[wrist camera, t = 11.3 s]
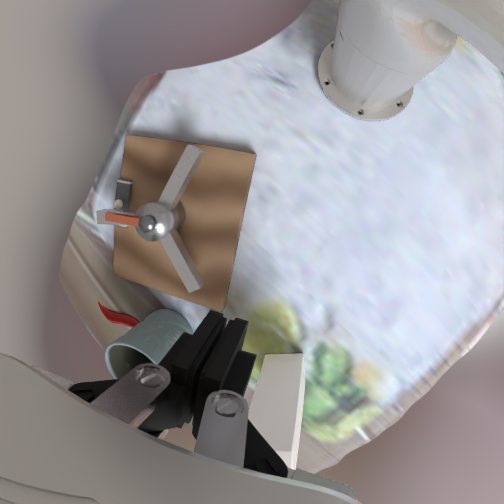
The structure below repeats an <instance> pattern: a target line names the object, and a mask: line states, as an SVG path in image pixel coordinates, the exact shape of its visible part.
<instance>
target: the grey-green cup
mask: <svg viewBox="0 0 504 504" xmlns="http://www.w3.org/2000/svg"><path fill="white" fill-rule="evenodd" d="M184 332H187V333H189V334H192V335H193V331H192V329H191V326H190V325H189V323H188V322H187V320H186V319H185V318H184V317H183V316H182V315H180V314H179V313H177V312H175V311H173V310H170V309H159V310H156V311H154V312H152V313H151V314H150V315H148V316H147V317H146V318H145V319H144V321H142V322H140V323H138V324H137V325H136V326H134V327H133V328H132V329H131V330H129V331H128V332H127V333H126V334H125V335H123V336H121V337H120V338H118V339H117V340H115V341H114V342H113V343H111V344H110V345H109V346H108V347H107V349H106V352H105V360H106V364H107V367H108V369H109V371H110V373H111V374H112V376H113V377H114V378H115V379H121V378H122V377H124V376H125V375H126V374H127V373H128V372H130V371H131V370H132V369H133V368H135V367H136V366H138V365H140V364H144V363H153V364H159V363H160V361H161V360H162V359H163V358H164V356H165V355H166V354H167V352H168V351H169V350H170V349H171V347H172V346H173V345H174V344H175V342H176V341H177V340H178V338H179V337H180V336H181V335H182V334H183V333H184Z"/></svg>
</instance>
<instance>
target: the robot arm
mask: <svg viewBox="0 0 504 504" xmlns="http://www.w3.org/2000/svg"><path fill="white" fill-rule="evenodd" d="M457 35H458V36H459V37H460V38H462V39H463V40H465V41H467V42H468V43H470V44H471V45H472V46H473V47H475V48H476V49H477V50H478V51H479V52H481V53H482V54H483V55H484V56H485V57H486V58H487V59H489V60H490V61H491V62H492V63H493V64H494V65H495V66H496V67H497V68H498V69H499V70H500V71H502V72H503V73H504V0H340V4H339V11H338V18H337V26H336V33H335V39H334V40H332V41H331V42H330V43H329V44H328V45H327V46H326V47H325V48H324V50H323V51H322V53H321V55H320V58H319V62H318V77H319V81H320V84H321V87H322V89H323V91H324V93H325V94H326V96H327V97H328V99H329V100H330V101H331V102H332V103H333V104H334V105H335V106H336V107H337V108H339V109H340V110H341V111H343V112H344V113H346V114H348V115H350V116H352V117H355V118H357V119H360V120H366V121H382V120H387V119H389V118H392V117H394V116H396V115H397V114H399V113H400V112H401V111H403V110H404V109H405V108H406V106H407V105H408V103H409V102H410V100H411V97H412V94H413V88H414V85H415V84H416V83H418V82H419V81H420V80H422V79H423V78H424V77H425V76H427V75H428V74H429V73H430V72H432V71H433V70H434V69H435V68H437V67H438V66H439V65H440V64H442V63H443V62H444V61H445V60H446V59H447V58H448V57H449V55H450V54H451V52H452V50H453V48H454V46H455V42H456V37H457ZM332 47H333V48H332ZM326 82H327V83H329V85H325V83H326ZM397 104H399V105H400V107H398V106H397ZM359 111H360V112H361V113H362V114H361V115H359V114H358V112H359ZM226 322H227V318H224V317H223V314H222V313H219V312H216V311H213V310H210V311H209V313H208V314H207V316H206V317H205V318H204V320H203V321H202V322H201V324H200V325H199V327H198V328H197V329H196V331H195V332H194V334H193V335H192V334H189V333H187V332H184V333H183V334H182V335H181V336H180V337H179V338H178V340H177V341H176V342H175V344H174V345H173V346H172V347H171V349H170V350H169V351H168V352H167V354H166V355H165V356H164V358H163V359H162V360H161V361H160V363H159V364H153V363H144V364H140V365H138V366H136V367H135V368H133V369H132V370H131V371H130V372H128V373H127V374H126V375H125V376H124V377H122V378H121V379H114V380H105V381H95V382H84V383H78V384H75V385H74V384H73V383H72V381H70V380H68V379H65V378H62V377H60V376H57V375H55V374H52V373H50V372H47V371H45V370H43V369H40V368H38V367H35V366H30V365H28V364H26V363H25V362H23V361H21V360H19V359H17V358H15V357H12V356H9V355H6V354H2V353H0V504H362V503H360V502H358V501H357V500H356V495H355V492H354V490H353V489H352V488H350V486H347V485H345V484H343V483H339V482H336V481H332V480H330V479H327V478H323V477H320V476H318V475H315V474H312V473H309V472H306V471H303V470H301V469H298V468H297V469H296V470H294V469H291V468H288V467H287V465H286V464H285V462H284V461H283V460H282V459H281V457H280V456H279V455H278V454H277V453H276V452H275V451H274V449H273V448H272V447H271V446H270V445H269V444H268V442H267V441H266V440H265V439H264V438H263V436H262V435H261V434H260V433H259V431H258V430H257V429H256V428H255V427H254V425H253V424H252V423H251V422H250V420H249V419H248V411H249V407H248V403H247V401H246V399H245V398H244V394H245V391H246V388H247V385H248V382H249V379H250V376H251V372H252V369H253V366H254V362H255V359H256V354H252V353H249V352H245V351H242V346H243V342H244V338H245V334H246V330H247V326H248V321H246V320H242V319H239V318H235V320H231V319H230V321H229V322H228V324H227V326H226ZM225 327H226V328H225ZM192 417H193V423H192V425H193V430H192V434H193V436H194V437H195V439H196V444H195V448H194V452H192V451H189V450H186V449H184V448H181V447H179V446H176V445H173V444H171V443H169V442H166V441H164V440H162V439H163V438H164V437H165V436H166V434H167V432H168V429H170V428H175V427H178V428H182V426H183V424H184V422H185V423H188V424H189V423H190V421H191V419H192Z"/></svg>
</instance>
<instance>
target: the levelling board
mask: <svg viewBox="0 0 504 504" xmlns="http://www.w3.org/2000/svg"><path fill="white" fill-rule="evenodd" d="M187 145H194V146H196V147H197V148H199V149H201V150H202V151H204V152H206V153H205V155H204V157H203V158H202V160H201V162H200V164H199V165H198V167H197V169H196V171H195V172H194V174H193V176H192V178H191V180H190V181H189V183H188V185H187V187H186V189H185V191H184V193H183V194H182V196H181V198H180V200H179V202H180V203H181V204H182V206H183V207H184V210H185V214H186V218H185V223H184V225H183V226H182V227H181V228H180V229H179V230H177V232H178V234H179V236H180V238H181V240H182V242H183V244H184V245H185V247H186V249H187V251H188V253H189V255H190V256H191V258H192V260H193V262H194V264H195V266H196V267H197V269H198V271H199V273H200V275H201V276H202V278H203V280H204V282H205V284H204V285H203V286H202V287H201V288H200V289H198V290H195V291H193V292H191V293H189V292H188V290H187V289H186V287H185V285H184V283H183V282H182V280H181V278H180V276H179V275H178V273H177V271H176V269H175V267H174V266H173V264H172V262H171V260H170V258H169V256H168V255H167V253H166V251H165V249H164V247H163V245H162V244H161V242H160V240H157V241H154V242H150V241H146V240H144V239H143V238H141V237H140V236H139V234H138V233H137V231H136V229H135V226H128V227H127V228H123V227H119V226H116V225H115V239H114V262H113V274H114V275H116V276H119V277H122V278H124V279H127V280H130V281H132V282H135V283H138V284H141V285H143V286H146V287H149V288H152V289H155V290H157V291H160V292H163V293H166V294H169V295H172V296H175V297H178V298H181V299H184V300H187V301H190V302H193V303H196V304H199V305H202V306H205V307H208V308H212V309H215V310H218V311H221V312H222V311H223V309H224V307H225V304H226V299H227V294H228V289H229V284H230V279H231V274H232V269H233V264H234V259H235V254H236V249H237V245H238V240H239V235H240V230H241V225H242V221H243V216H244V211H245V206H246V202H247V197H248V192H249V188H250V183H251V178H252V174H253V169H254V164H255V160H256V154H251V153H246V152H241V151H236V150H230V149H225V148H219V147H214V146H208V145H202V144H195V143H189V142H182V141H175V140H167V139H159V138H151V137H142V136H132V135H127V137H126V143H125V149H124V155H123V162H122V169H121V176H120V179H126V180H131V181H133V184H132V191H131V200H130V209H129V210H138V208H139V207H140V206H142V205H144V204H147V203H151V202H155V201H159V199H160V196H161V194H162V192H163V190H164V188H165V186H166V185H167V183H168V181H169V179H170V177H171V175H172V173H173V171H174V169H175V167H176V165H177V164H178V162H179V160H180V158H181V156H182V154H183V152H184V151H185V149H186V147H187Z"/></svg>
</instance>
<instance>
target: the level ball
mask: <svg viewBox="0 0 504 504" xmlns="http://www.w3.org/2000/svg"><path fill="white" fill-rule="evenodd" d="M114 207H115V208H116V209H121V208H122V207H123V202H122V200H120V199H118V200H116V201H115V202H114Z"/></svg>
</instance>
